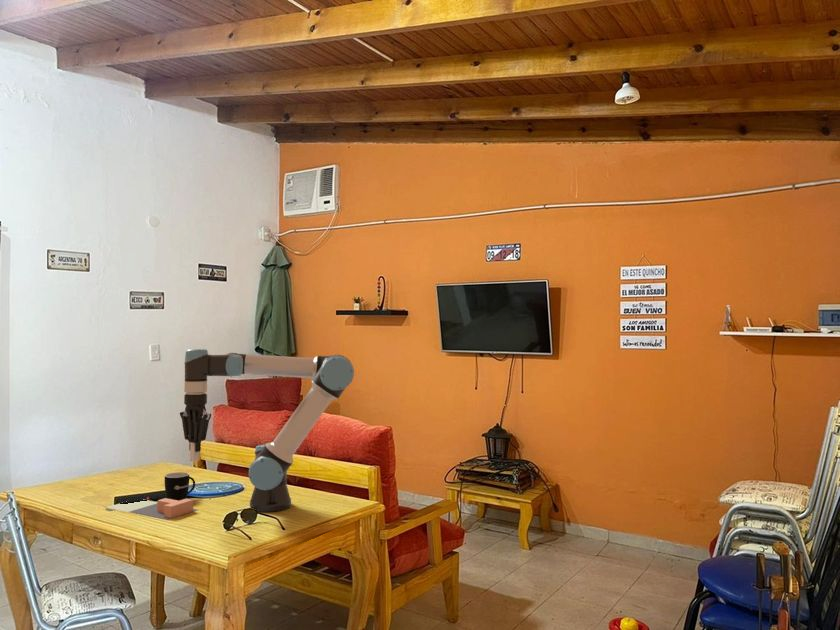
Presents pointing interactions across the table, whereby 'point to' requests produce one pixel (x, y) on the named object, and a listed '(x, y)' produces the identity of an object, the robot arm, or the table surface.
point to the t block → (174, 507)
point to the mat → (142, 509)
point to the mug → (177, 485)
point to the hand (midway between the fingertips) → (194, 460)
